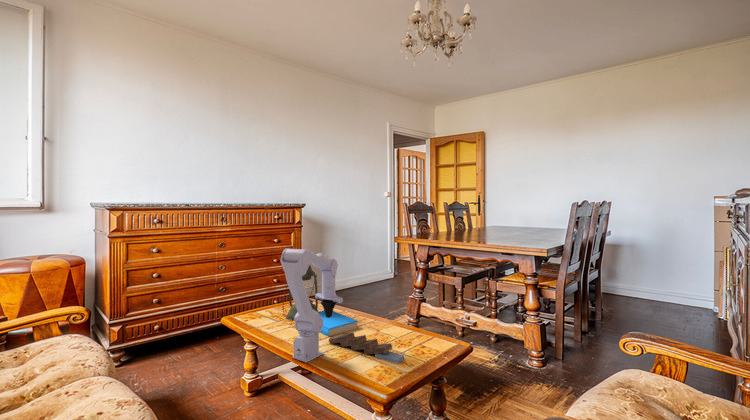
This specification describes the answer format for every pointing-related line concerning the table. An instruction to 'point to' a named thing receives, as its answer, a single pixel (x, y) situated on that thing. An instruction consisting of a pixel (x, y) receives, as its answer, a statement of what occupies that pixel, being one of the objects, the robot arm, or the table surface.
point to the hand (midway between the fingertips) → (328, 317)
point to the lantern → (305, 277)
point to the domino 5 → (390, 357)
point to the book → (336, 323)
